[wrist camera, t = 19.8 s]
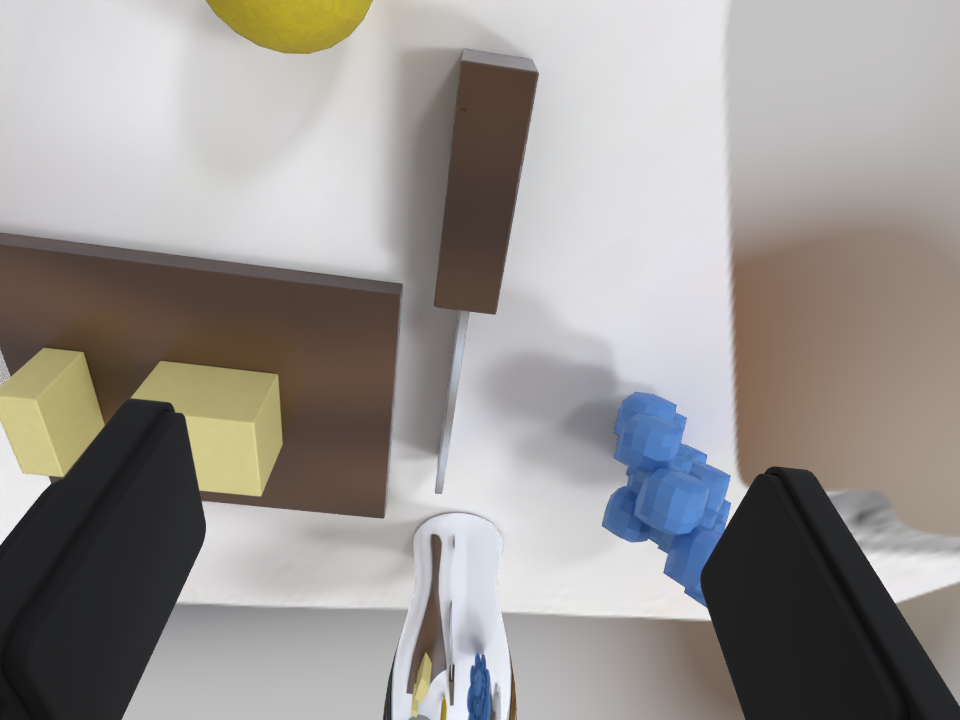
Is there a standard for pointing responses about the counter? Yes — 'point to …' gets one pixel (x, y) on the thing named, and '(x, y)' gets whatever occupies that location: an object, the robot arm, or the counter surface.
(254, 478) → the butter block
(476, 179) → the knife
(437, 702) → the beer glass
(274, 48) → the lemon
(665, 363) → the counter surface
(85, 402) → the butter slice
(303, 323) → the board
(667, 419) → the grapes
